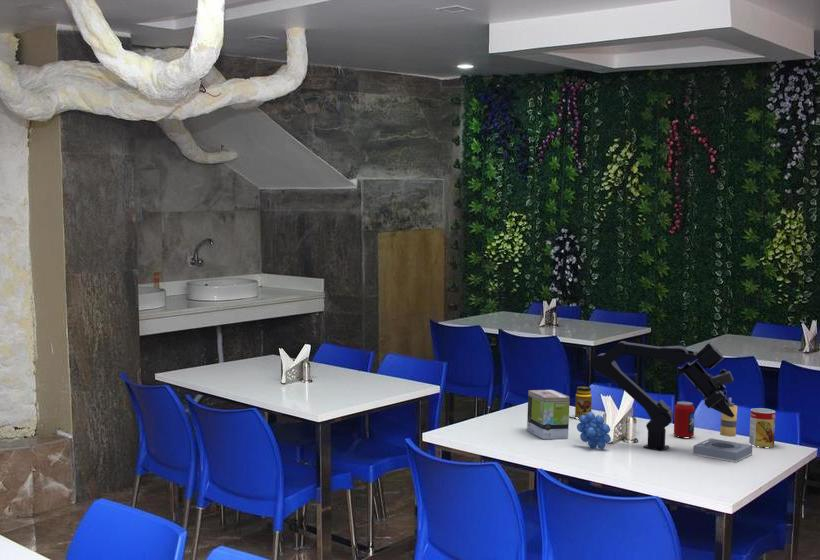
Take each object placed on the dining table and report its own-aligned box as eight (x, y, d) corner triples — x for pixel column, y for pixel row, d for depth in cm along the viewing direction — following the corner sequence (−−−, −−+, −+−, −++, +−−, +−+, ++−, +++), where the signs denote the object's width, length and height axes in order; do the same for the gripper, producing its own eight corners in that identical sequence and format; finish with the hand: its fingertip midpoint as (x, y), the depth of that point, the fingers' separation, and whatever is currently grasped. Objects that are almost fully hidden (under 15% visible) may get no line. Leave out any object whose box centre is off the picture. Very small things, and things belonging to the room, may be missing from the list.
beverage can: (696, 439, 327) (697, 404, 327) (676, 438, 328) (677, 404, 327) (690, 434, 334) (691, 401, 333) (671, 434, 334) (672, 400, 334)
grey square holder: (736, 462, 296) (736, 452, 296) (693, 454, 305) (693, 445, 305) (752, 454, 307) (752, 444, 307) (710, 447, 316) (710, 437, 316)
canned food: (778, 448, 316) (780, 412, 316) (756, 448, 315) (758, 413, 314) (766, 442, 324) (767, 407, 323) (744, 443, 323) (746, 408, 322)
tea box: (569, 438, 325) (570, 396, 324) (542, 440, 323) (543, 397, 322) (552, 429, 340) (553, 388, 339) (526, 430, 337) (527, 389, 336)
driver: (732, 437, 302) (734, 399, 301) (717, 434, 305) (719, 397, 304) (738, 434, 306) (740, 398, 305) (723, 432, 309) (725, 395, 308)
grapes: (571, 448, 311) (572, 412, 310) (578, 444, 317) (579, 409, 316) (606, 453, 305) (607, 416, 305) (612, 449, 311) (613, 413, 310)
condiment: (583, 421, 354) (583, 389, 354) (566, 417, 361) (567, 386, 360) (596, 419, 359) (597, 387, 358) (580, 415, 365) (581, 384, 365)
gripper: (717, 366, 296) (753, 404, 293) (720, 358, 314) (753, 394, 311) (690, 388, 300) (724, 426, 297) (694, 379, 317) (727, 415, 314)
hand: (733, 415), depth 304 cm, fingers closed on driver, 5 cm apart
